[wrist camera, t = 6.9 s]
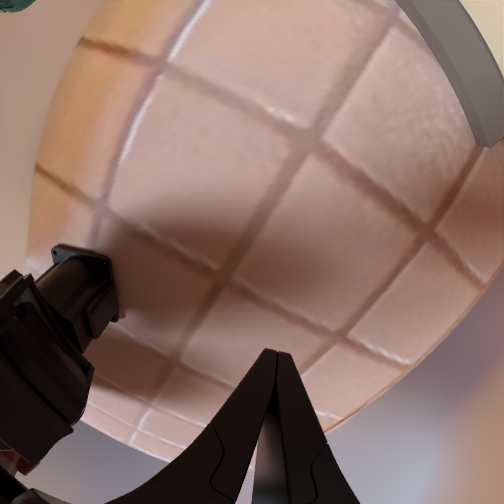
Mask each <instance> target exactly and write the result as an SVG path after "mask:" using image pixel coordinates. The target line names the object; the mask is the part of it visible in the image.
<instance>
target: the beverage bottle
mask: <svg viewBox="0 0 504 504" xmlns="http://www.w3.org/2000/svg"><path fill="white" fill-rule="evenodd" d="M34 1H35V0H0V10H1V11H5V12H7V11H8V12H18V11H22V10H23V9H25V8H27V7H28V6H29V5H31V4H32V3H33V2H34Z"/></svg>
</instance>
